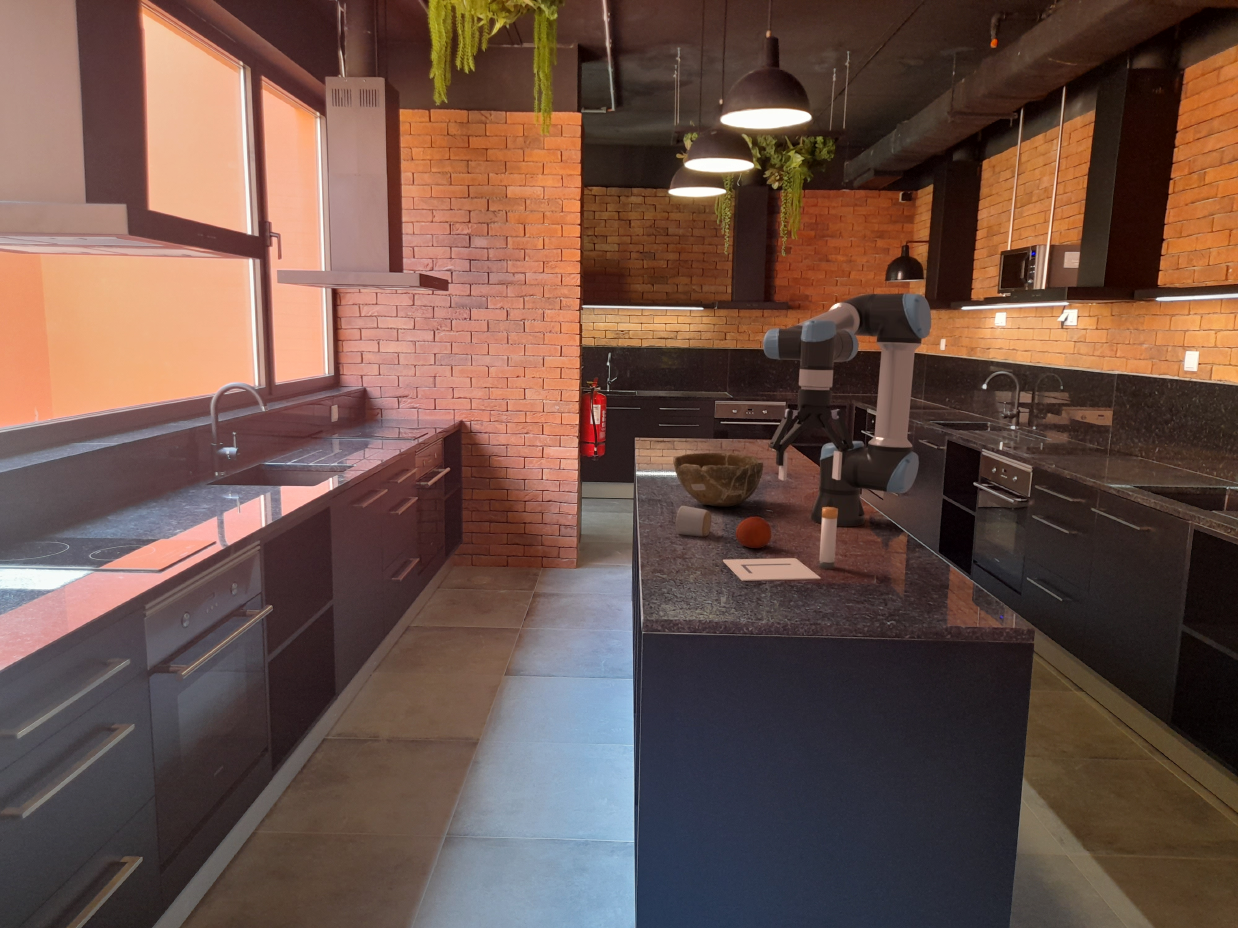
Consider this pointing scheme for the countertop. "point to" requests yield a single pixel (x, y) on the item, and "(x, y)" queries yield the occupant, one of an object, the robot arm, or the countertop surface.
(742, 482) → the bowl
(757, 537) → the fruit
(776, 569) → the paper
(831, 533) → the marker
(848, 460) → the robot arm
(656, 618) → the countertop surface
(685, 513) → the ceramic mug
